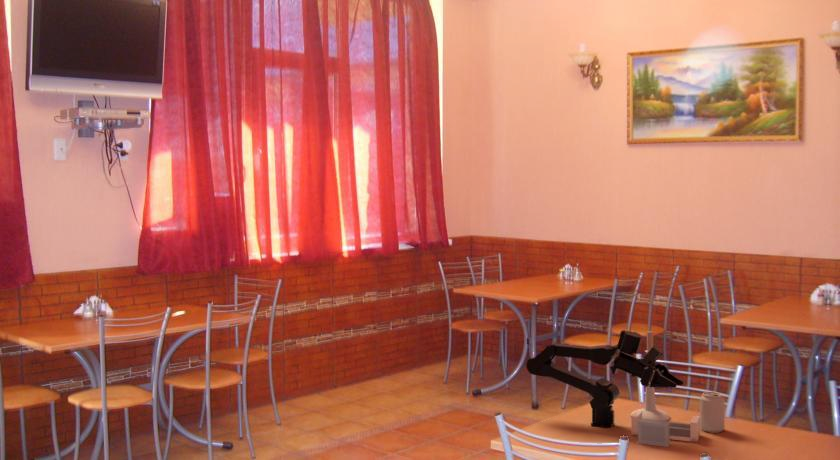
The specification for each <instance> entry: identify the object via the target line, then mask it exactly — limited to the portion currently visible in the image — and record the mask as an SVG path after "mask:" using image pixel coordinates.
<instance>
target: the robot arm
mask: <svg viewBox="0 0 840 460" xmlns="http://www.w3.org/2000/svg"><path fill="white" fill-rule="evenodd" d="M642 338H643V335H642V334H640V333H639V332H637V331H629V330H625V329H623V330H621V331H620V334H619V339H618V343H617V344H615V345H614V346H613V345H610V344H601V345H600V344H599V345H595V346H584V345H583V346H582V345H575V344H564V343H557V342H553V343H550V344H548V345H547V346H545V348H544V349H543V350H542V351H541V352H539V353H538V354H537V355H535V356H534V357H531V358H530V359H528V360H527V361H526V365H525V366H526V370H527V372H528V373H529V374H530V375H534V376H538V377H544V378H545V377H546V378H551V379H553V380H557V381H558V382H560V383H563V384H566V385H568V386H570V387H573V388H574V389H578V390H580V391H583V392H585V393H586V394H588V395H590V396H591V397H592V399H591V400H590V401H589V405H590V408H591V423H590V426H592V427H602V428H611V427H612V426H613V425H614V423H615V410H614V406H613V404H615V401H616V400H617V399H618V398H619V396H620V389H619V387H618V385H616V384H614V381H610V380H607V379H606V378H604V377H601V378H599V379H597V380H594V379H590V378H588V377H586V376H583V375H581V374H578V373H575V372H573V371H571V370H568V369H566V368H564V367H562V366H558V365H556V364H555V363H554V358H555V357H563V358H565V357H566V358H571V359H572V358H573V359H582V360H587V361H590V362H592V363H595V364H597V365H600V366H606V365H608V364H610V363H612V362H613V364H612V365H611V366H609V368H610V370H611V373H612V375H615V374H617V373H618V372H619V371H621V372H623V373H626V374H629V375H630V376H631V377H633V378H638V379H639V382H640V384H641V386H643V387H645V388H646V387H649V386H650V387H654V388H672V389H673V388H675V389H676V388H677V386H683V384H684V381H682V380H681V379H680V378H678V377H676V376H675V375H674V374H673V373H672V372H671V371H670V370H669V367H668V365H667V364H665V363H663V362H660V363H656V362H657V360H658V359H659V358H660V357H661V356H662V355H663V354H664V352H663V351H662V350H661V348H658V347H657V346H653V347H652V348H651V349H650V351H648V353H647V354H645V355H644V357H642V358H637V357H635V356H634V354H637V353H638V351H639V348H640V345H641V342H642ZM617 355H618V356H617ZM649 382H651V383H650V384H649Z"/></svg>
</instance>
